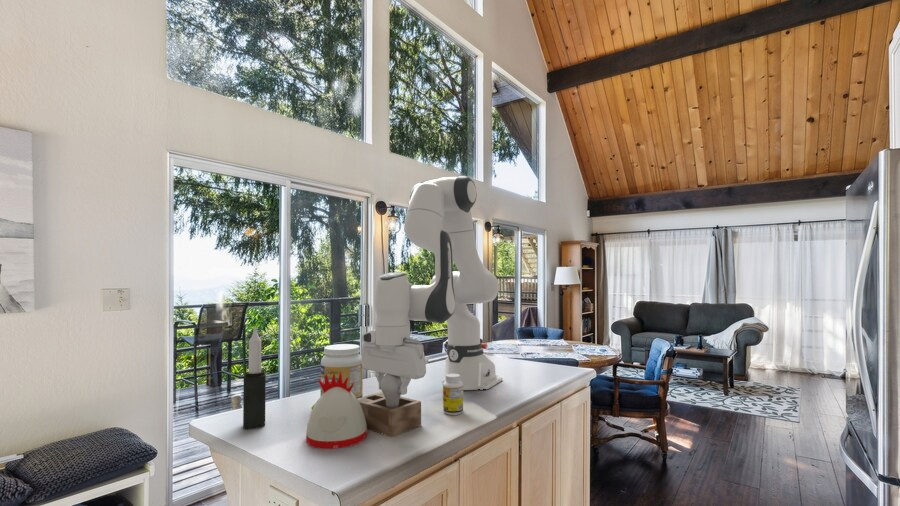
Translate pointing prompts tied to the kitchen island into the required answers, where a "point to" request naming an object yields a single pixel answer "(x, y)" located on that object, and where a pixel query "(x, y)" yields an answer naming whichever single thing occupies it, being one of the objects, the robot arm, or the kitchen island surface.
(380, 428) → the socket block
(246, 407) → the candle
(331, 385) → the kitchen timer
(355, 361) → the supplement tub
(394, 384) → the lightbulb
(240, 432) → the kitchen island surface
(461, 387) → the supplement bottle
